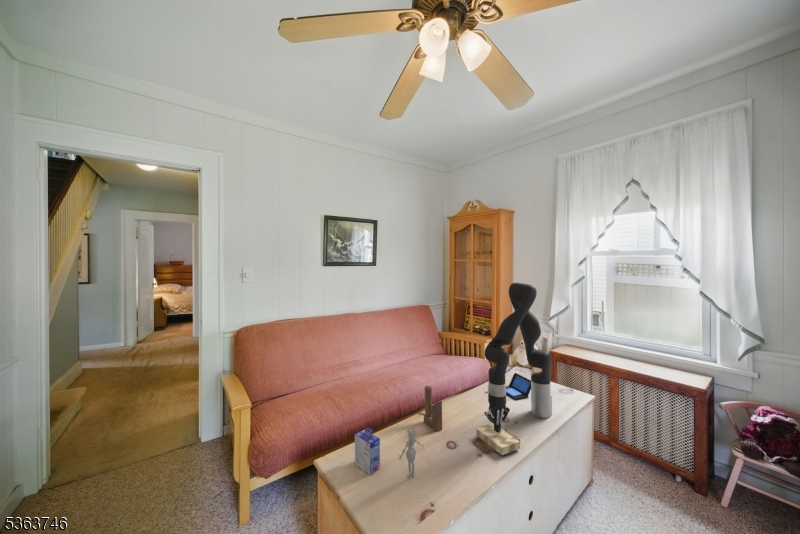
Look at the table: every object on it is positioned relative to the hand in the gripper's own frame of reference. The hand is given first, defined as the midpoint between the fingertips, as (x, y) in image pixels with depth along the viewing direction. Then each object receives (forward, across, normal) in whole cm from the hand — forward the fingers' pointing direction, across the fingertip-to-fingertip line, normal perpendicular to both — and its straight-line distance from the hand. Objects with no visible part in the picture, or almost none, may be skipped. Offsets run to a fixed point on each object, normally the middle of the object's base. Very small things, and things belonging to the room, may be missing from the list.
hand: (497, 431), depth 128 cm
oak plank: (+3, 0, +8) cm, 9 cm away
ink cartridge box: (+6, -56, +12) cm, 58 cm away
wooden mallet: (+6, -18, +25) cm, 31 cm away
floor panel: (+6, 0, +1) cm, 6 cm away
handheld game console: (+6, +45, +32) cm, 56 cm away
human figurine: (+6, -43, -1) cm, 43 cm away
